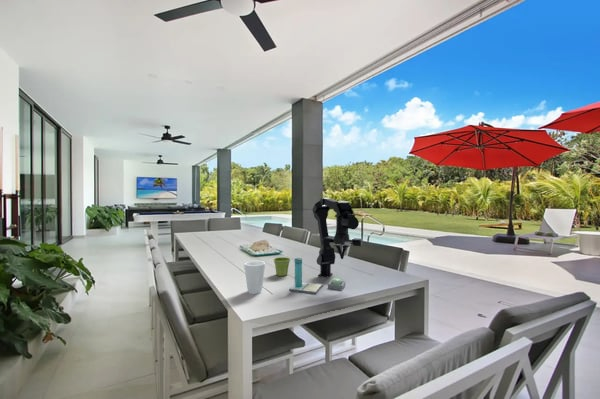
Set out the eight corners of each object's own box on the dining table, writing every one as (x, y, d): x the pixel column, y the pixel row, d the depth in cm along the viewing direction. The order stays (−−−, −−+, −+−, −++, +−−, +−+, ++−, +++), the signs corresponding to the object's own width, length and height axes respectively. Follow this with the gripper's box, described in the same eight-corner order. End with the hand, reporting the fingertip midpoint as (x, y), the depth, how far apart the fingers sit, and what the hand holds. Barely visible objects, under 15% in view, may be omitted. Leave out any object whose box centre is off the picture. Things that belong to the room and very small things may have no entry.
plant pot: (290, 277, 153) (289, 261, 152) (272, 277, 153) (272, 261, 153) (290, 272, 162) (290, 257, 162) (274, 272, 162) (274, 257, 162)
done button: (333, 283, 140) (333, 278, 140) (342, 284, 138) (342, 278, 138) (331, 286, 135) (331, 280, 135) (340, 287, 134) (340, 281, 134)
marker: (295, 284, 136) (295, 257, 136) (303, 285, 136) (302, 258, 135) (294, 287, 133) (293, 259, 133) (301, 287, 132) (301, 259, 132)
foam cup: (250, 296, 124) (249, 266, 124) (241, 290, 131) (240, 262, 131) (269, 292, 129) (268, 263, 129) (259, 286, 137) (259, 259, 137)
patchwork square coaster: (298, 283, 142) (298, 280, 142) (323, 285, 138) (323, 283, 138) (288, 291, 130) (288, 289, 130) (315, 294, 126) (315, 292, 126)
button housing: (331, 283, 141) (331, 279, 141) (345, 285, 139) (345, 281, 139) (327, 288, 135) (327, 284, 135) (342, 289, 132) (342, 285, 132)
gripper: (319, 228, 134) (319, 261, 134) (359, 229, 128) (359, 264, 128) (325, 225, 144) (325, 256, 145) (362, 227, 138) (362, 259, 138)
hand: (342, 258), depth 139 cm, fingers closed
